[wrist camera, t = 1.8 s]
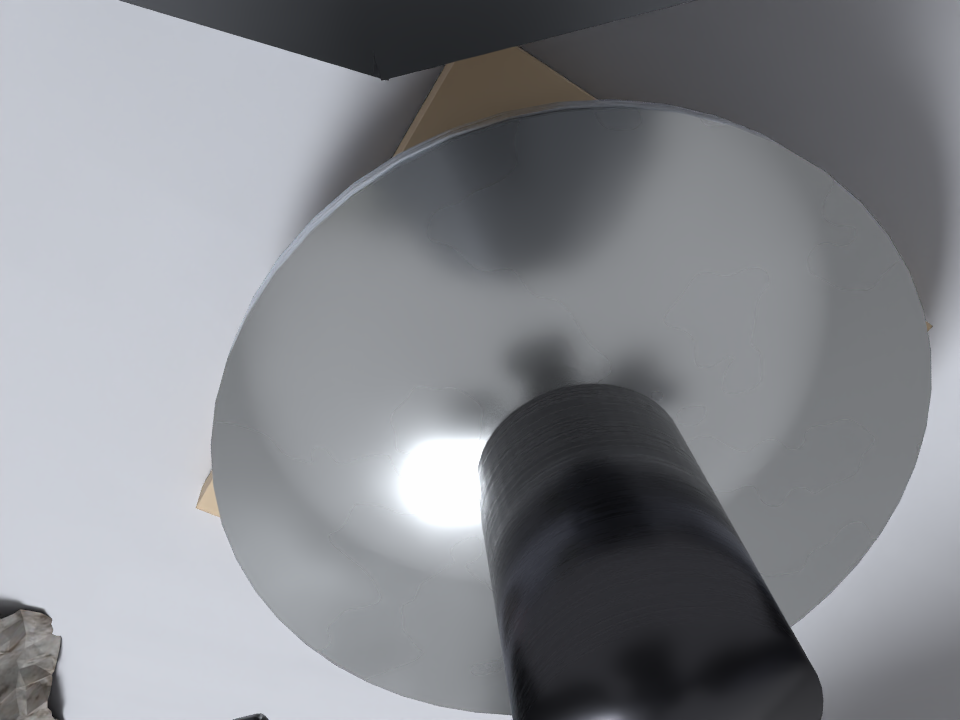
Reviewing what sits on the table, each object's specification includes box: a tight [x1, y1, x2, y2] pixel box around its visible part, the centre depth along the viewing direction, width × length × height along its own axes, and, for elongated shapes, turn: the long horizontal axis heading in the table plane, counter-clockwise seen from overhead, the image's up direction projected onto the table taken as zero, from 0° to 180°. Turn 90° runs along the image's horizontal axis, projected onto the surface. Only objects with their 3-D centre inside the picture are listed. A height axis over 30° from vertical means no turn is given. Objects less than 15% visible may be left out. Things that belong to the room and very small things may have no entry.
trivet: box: [196, 46, 932, 517], centre depth 14 cm, size 9×9×1 cm
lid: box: [211, 99, 931, 720], centre depth 11 cm, size 11×11×6 cm
